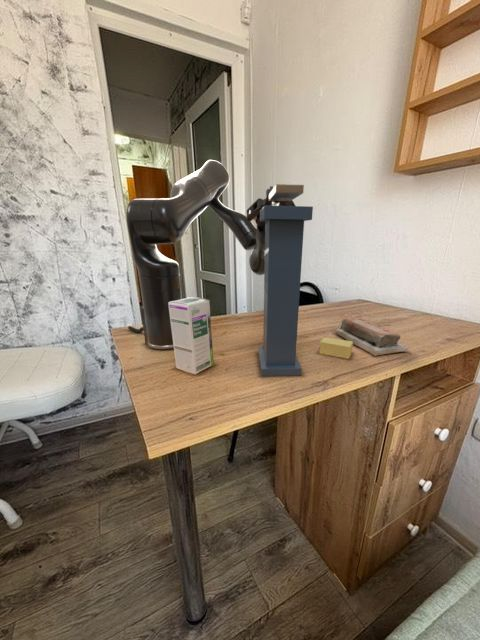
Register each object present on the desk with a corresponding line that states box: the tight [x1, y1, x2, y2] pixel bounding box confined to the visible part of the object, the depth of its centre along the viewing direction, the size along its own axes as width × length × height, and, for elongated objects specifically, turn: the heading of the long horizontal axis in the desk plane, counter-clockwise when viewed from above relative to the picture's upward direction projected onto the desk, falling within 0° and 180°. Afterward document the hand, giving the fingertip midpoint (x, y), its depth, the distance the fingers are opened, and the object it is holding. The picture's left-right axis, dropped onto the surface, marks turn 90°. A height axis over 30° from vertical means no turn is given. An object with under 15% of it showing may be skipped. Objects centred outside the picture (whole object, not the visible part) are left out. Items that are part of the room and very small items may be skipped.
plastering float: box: [334, 316, 409, 357], centre depth 78 cm, size 18×5×10 cm
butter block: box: [318, 336, 354, 360], centre depth 70 cm, size 7×4×3 cm, turn 64°
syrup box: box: [168, 296, 215, 376], centre depth 60 cm, size 6×6×14 cm
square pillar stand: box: [257, 205, 314, 377], centre depth 59 cm, size 8×12×31 cm, turn 4°
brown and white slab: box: [269, 183, 305, 206], centre depth 57 cm, size 4×24×2 cm, turn 4°
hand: (277, 190), depth 62 cm, fingers closed on brown and white slab, 2 cm apart
